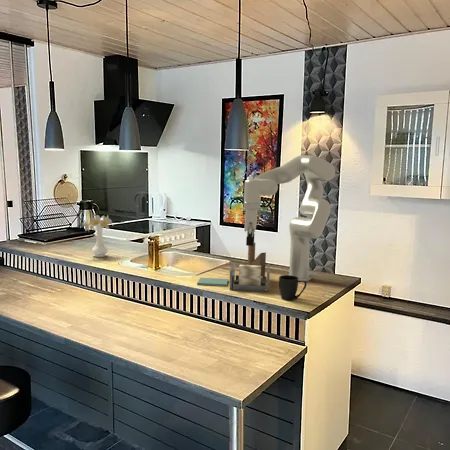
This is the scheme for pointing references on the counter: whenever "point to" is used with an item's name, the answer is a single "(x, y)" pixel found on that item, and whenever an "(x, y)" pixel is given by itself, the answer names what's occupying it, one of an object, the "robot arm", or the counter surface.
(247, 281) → the birch sheet
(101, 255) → the flower vase
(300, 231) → the robot arm
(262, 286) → the rack
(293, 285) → the mug
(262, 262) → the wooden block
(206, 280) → the mat
